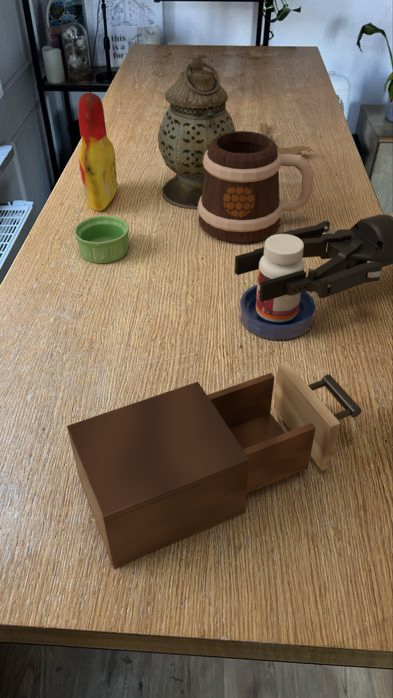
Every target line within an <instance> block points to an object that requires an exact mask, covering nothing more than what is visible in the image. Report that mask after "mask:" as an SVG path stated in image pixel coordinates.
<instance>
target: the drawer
mask: <svg viewBox="0 0 393 698" xmlns="http://www.w3.org/2000/svg"><path fill="white" fill-rule="evenodd" d="M276 372H277V373H276V381H275V375H273V373H272V372H269V373H266V374H264V375H263V374H262V375H260V376H257V377H254V378H252V379H249V380H246V381H243V382H240V383H237V384H235V385H232V386H229V387H226V388H223V389H220V390H218V391H214V392H212V393H209V394H207V396H208V397H209V399H210V401H211V402H212V404H213V405H214V407H215V408H216V410H217V411H218V413H219V414H220V416H221V417H222V419H223V420H224V422H225V423H226V425H227V426H228V428H229V429H230V431H231V432H232V434H233V435H234V437H235V438H236V440H237V441H238V443H239V444H240V446H241V447H242V449H243V450H244V452H245V453H246V455H247V456H248V458H249V473H248V485H247V494H249V493H250V494H251V493H252V492H255V491H257V490H260V489H262V488H265V487H266V486H269V485H271V484H273V483H276V482H279V481H281V480H283V479H286V478H288V477H290V476H293V475H295V474H298V473H301V472H303V471H305V470H307V469H309V465H310V460H311V458H312V460H313V461H314V463H315V464H316V466H317V467H318V468H319V469H320V470H321V471H323V470H325V469H328V468H330V467H331V465H332V462H333V457H334V452H335V449H336V444H337V440H338V436H339V431H340V427H341V422H340V421H341V420H343V419H346V418H348V417H349V416H350V417H351V418H353V419H355V418H357V417H359V416H360V415H361V414H362V413H363V409H362V408H361V407H360V406H359V404H358V403H357V402H356V401H355V400H354V399H353V398H352V397H351V395H350V394H349V393H347V391H346V390H345V389H344V388H343V387H342V386H341V385H340V383H338V381H337V380H336V379H335V378H334V377H333V376H332V375H331V374H330V373H329V374H325V375H324V376H323V377H322V378H321V379H320V380H319V381H316V382H313V383H310V384H307V382H306V381H305V380H304V379H303V378H302V376H301V375H300V374H299V373H298V372H297V371H296V370H295V368H294V367H293V366H292V364H291V363H289V362H288V360H286V361H283V362H280V363H278V364H277V371H276ZM274 384H275V390H274ZM321 388H325V389H326V390H327V391H328V392H329V394H331V396H332V397H333V398H334V399H335V400H336V401H337V403H338V404H339V405H340V406H341V407H342V408H343V410H341V411H339V412H337V413H334V414H333V413H332V412H331V411H330V409H329V408H328V407H327V406H326V404H325V403H324V402H323V401H322V400H321V399H320V397H319V396H318V395H317V394H316V393H315V392H314V391H316V390H319V389H321ZM273 392H274V393H273ZM273 394H274V397H273ZM272 402H273V403H272ZM272 404H273V409H274V410H275V411H276V412H277V414H278V415H279V417H280V418H281V419H282V421H283V422H284V423H285V425H286V426H287V427H288V428H289V429H290V431H285V430H284V429H283V427H282V426H281V425H280V424H279V422H278V421H277V419H276V418H275V416H273V414H272V413H271V412H272Z"/></svg>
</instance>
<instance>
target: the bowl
mask: <svg viewBox="0 0 393 698" xmlns="http://www.w3.org/2000/svg"><path fill="white" fill-rule="evenodd" d="M256 296H257V284H255V285H252V286H251V287H249V288H248V289H246V290H245V291H244V292H243V293H242V296H241V298H240V300H239V317H240V318H239V319H240V322H241V323H242V325H243V326H244V327H245V328H246V329H247V331H249V332H251V333H252V334H254V335H255V336H258V337H259V338H263V339H269V340H275V341H278V340H291V339H294V338H297V337H300V336H303V335H304V334H305V333H306V332H307V331H309V330H310V329H311V328H312V326H313V323H314V320H315V314H316V307H317V306H316V303H315V300H314V298H313V296H312V295H310V293H309V292H308V291H305V292H302V293H301V296H300V303H299V309H298V313H297V315H296V316H295V317H294V318H293V319H291V320H289V321H286V322H271V321H268V320H265V319H263V318H262V317H261V316H260V315H259V314H258V313H257V311H256Z"/></svg>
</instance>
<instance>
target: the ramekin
mask: <svg viewBox="0 0 393 698" xmlns="http://www.w3.org/2000/svg"><path fill="white" fill-rule="evenodd" d="M129 232H130V226H129V223H128V222H127V221H126V220H125V219H123V218H121V217H118V216H115V215H107V214H105V215H103V214H102V215H95V216H91V217H87V218H84V219H83V220H81V221H80V222H78V224H77V225H76V226H75V227H74V232H73V233H74V237H75V239H76V242H77V245H78V249H79V252H80V255H81V257H82V258H83V259H84V260H86V261H88V262H91V263H95V264H109V263H113V262H116V261H118V260H121V259H122V258H123V257H124V256H125V255H127V253H128V250H129Z"/></svg>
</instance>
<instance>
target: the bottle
mask: <svg viewBox="0 0 393 698" xmlns="http://www.w3.org/2000/svg"><path fill="white" fill-rule="evenodd" d="M78 125H79V134H80V137H81V144H80V147H79V152H78V164H79V171H80V172H79V173H80V177H81V183H82V188H83V189H82V190H83V192H84V197H85V200H86V203H87V205H88V206H89V207H90V208H91V209H92V210H94V211H103V210H105V208H107V207H108V206H109V204H110V203H111V202H112V200H113V199H114V197H115V194H116V193H117V186H118V185H119V183H118V179H117V178H118V173H117V165H116V151H115V147H114V145H113V142H112V141H111V140H110V139H109V137H108V134H107V133H108V132H107V127H106V126H107V125H106V118H105V111H104V104H103V101H102V99H101V97H100V96H99V95H97V94H96V93H93V92H86V93H85V92H84V93H83V94H82V95H81V96H80V97H79V99H78Z"/></svg>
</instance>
